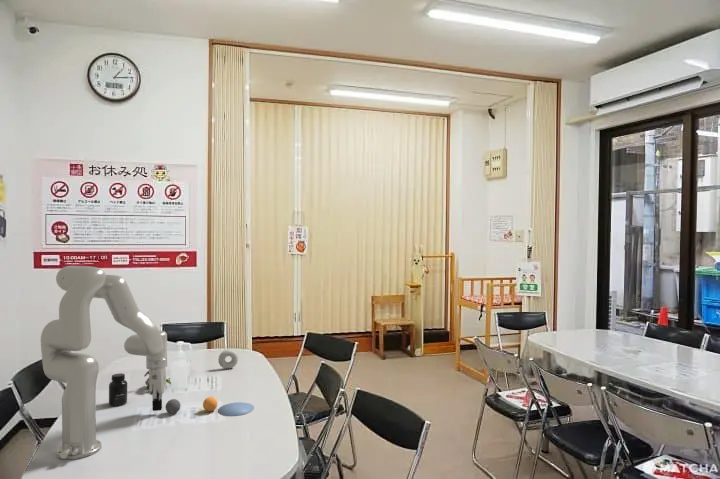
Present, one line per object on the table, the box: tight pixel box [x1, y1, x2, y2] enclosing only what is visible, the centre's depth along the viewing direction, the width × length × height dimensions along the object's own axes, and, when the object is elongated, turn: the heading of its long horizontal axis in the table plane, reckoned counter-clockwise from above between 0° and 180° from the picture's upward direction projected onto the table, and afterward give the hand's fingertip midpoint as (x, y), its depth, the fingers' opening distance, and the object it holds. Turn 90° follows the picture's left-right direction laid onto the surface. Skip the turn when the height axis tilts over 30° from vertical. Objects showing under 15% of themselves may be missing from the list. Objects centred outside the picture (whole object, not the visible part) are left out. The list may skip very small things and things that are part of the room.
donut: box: [218, 348, 239, 370], centre depth 250 cm, size 10×4×10 cm, turn 112°
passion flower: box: [144, 370, 172, 390], centre depth 219 cm, size 11×11×12 cm
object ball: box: [202, 396, 218, 412], centre depth 193 cm, size 6×6×6 cm
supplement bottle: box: [108, 373, 128, 407], centre depth 200 cm, size 7×7×12 cm
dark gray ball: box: [165, 398, 181, 415], centre depth 190 cm, size 6×6×6 cm
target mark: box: [217, 401, 255, 417], centre depth 195 cm, size 14×14×1 cm
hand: (157, 409), depth 189 cm, fingers closed
